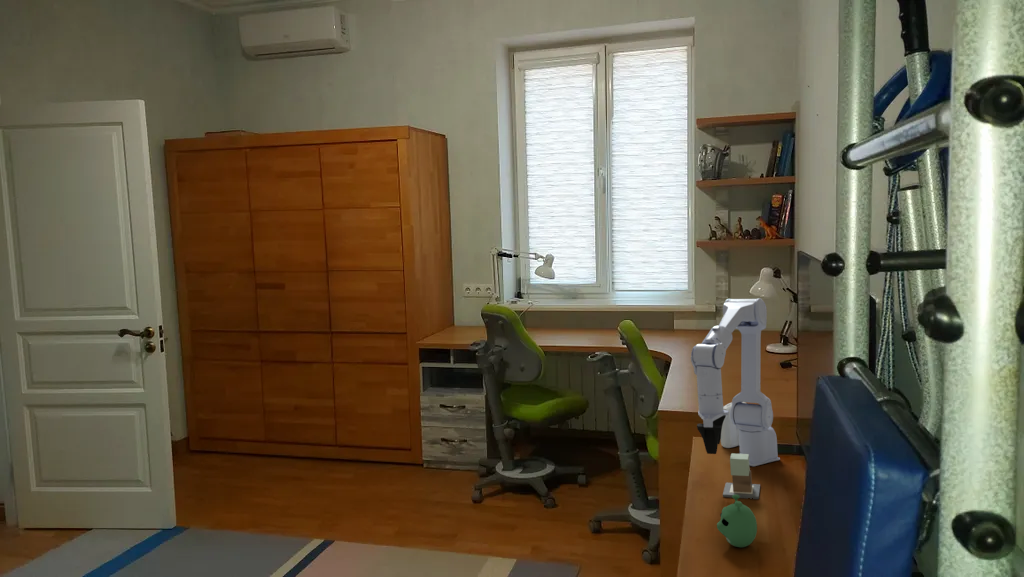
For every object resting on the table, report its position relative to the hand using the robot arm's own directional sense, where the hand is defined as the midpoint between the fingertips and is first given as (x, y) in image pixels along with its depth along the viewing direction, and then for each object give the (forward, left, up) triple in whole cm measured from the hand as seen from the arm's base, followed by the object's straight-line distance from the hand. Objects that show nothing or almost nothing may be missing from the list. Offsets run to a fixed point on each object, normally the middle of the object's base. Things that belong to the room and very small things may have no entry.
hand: (713, 448), depth 169 cm
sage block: (-4, +4, -6) cm, 8 cm away
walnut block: (-4, +4, -10) cm, 12 cm away
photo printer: (-28, -25, -11) cm, 39 cm away
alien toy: (+16, +26, -11) cm, 32 cm away
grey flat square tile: (-4, +4, -10) cm, 12 cm away
